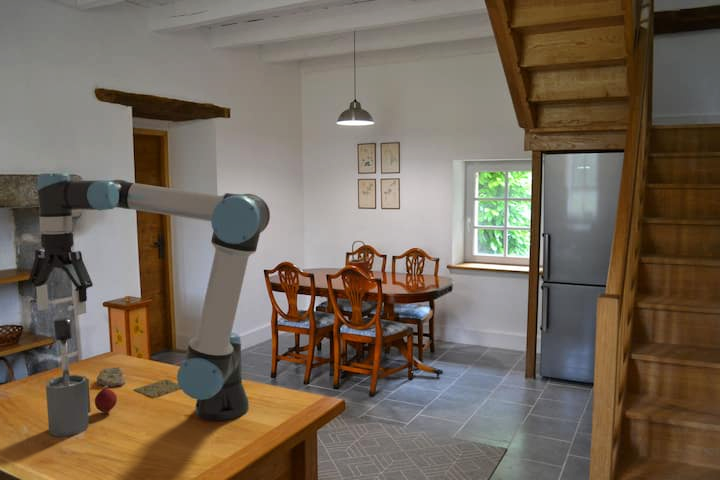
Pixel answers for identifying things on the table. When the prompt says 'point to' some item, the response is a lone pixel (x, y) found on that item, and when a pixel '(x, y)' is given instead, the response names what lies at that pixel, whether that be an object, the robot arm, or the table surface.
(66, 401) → the press carafe
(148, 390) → the grey porous flat square
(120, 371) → the rock
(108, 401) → the onion
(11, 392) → the table surface
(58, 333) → the plunger
